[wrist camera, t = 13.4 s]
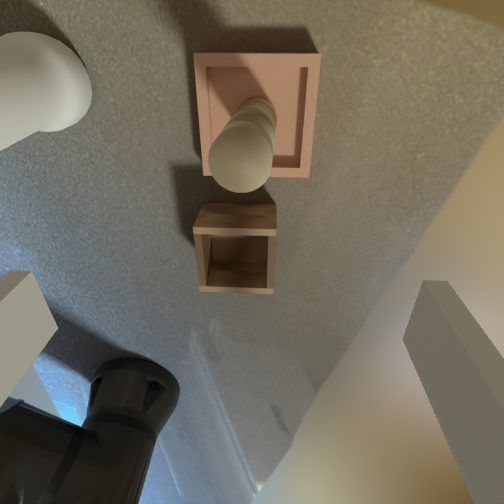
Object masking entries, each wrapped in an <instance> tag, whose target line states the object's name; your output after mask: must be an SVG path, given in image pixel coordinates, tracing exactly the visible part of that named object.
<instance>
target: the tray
mask: <svg viewBox="0 0 504 504" xmlns="http://www.w3.org/2000/svg"><path fill="white" fill-rule="evenodd" d="M193 55H194V67H195V79H196V91H197V103H198V115H199V127H200V140H201V152H202V164H203V176H212V174H211V172H210V169H209V165H208V155H209V150H210V148H211V145H212V144H213V142H214V141H215V139H216V138H217V137H218V135H219V134H220V133H221V131H222V130H223V128H224V127H225V126H226V124H227V123H228V122H229V120H230V119H231V118H232V116H233V115H234V114H235V112H236V111H237V109H238V108H239V107H240V105H241V104H242V103H243V102H244V101H245V100H247V99H249V98H252V97H261V98H264V99H266V100H268V101H269V102H270V103H271V104H272V105H273V106H274V108H275V110H276V113H277V125H276V134H275V142H274V151H273V160H272V168H271V172H270V175H269V177H296V178H309V172H310V162H311V152H312V142H313V132H314V122H315V112H316V102H317V92H318V82H319V72H320V62H321V53H295V52H197V53H193Z"/></svg>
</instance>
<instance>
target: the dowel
mask: <svg viewBox="0 0 504 504" xmlns="http://www.w3.org/2000/svg"><path fill="white" fill-rule="evenodd" d="M276 125H277V113H276V110H275V108H274V106H273V105H272V104H271V103H270V102H269V101H268V100H266V99H264V98H261V97H252V98H249V99H247V100H245V101H244V102H243V103H242V104H241V105H240V107H239V108H238V109H237V111H236V112H235V114H234V115H233V116H232V118H231V119H230V120H229V122H228V123H227V124H226V126H225V127H224V128H223V130H222V131H221V133H220V134H219V135H218V137H217V138H216V139H215V141H214V142H213V144H212V145H211V148H210V150H209V155H208V165H209V169H210V172H211V174H212V176H213V178H214V179H215V180H216V181H217V183H218V184H220V185H221V186H222V187H223V188H225V189H227V190H229V191H232V192H236V193H247V192H251V191H254V190H256V189H257V188H259V187H260V186H262V185H263V184H264V183H265V181H266V180H267V179H268V177H269V175H270V172H271V168H272V160H273V151H274V142H275V134H276Z"/></svg>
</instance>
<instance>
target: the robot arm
mask: <svg viewBox="0 0 504 504" xmlns="http://www.w3.org/2000/svg"><path fill="white" fill-rule="evenodd" d="M57 329H58V327H57V325H56V322H55V320H54V318H53V316H52V314H51V312H50V309H49V307H48V305H47V303H46V301H45V298H44V296H43V294H42V292H41V290H40V288H39V285H38V283H37V281H36V279H35V277H34V274H33V272H32V271H11V270H10V271H9V272H8V273H7V274H6V275H5V276H4V277H2V278H1V279H0V504H138V503H139V500H140V496H141V493H142V489H143V485H144V482H145V478H146V475H147V471H148V468H149V464H150V460H151V457H152V453H153V450H154V446H155V443H156V439H157V437H158V435H159V433H160V431H161V430H162V428H163V427H164V425H165V424H166V422H167V421H168V419H169V417H170V416H171V414H172V413H173V411H174V410H175V408H176V406H177V402H178V398H179V395H180V387H179V384H178V382H177V381H176V379H175V378H174V377H173V376H172V375H171V374H170V373H169V372H168V371H166V370H165V369H163V368H162V367H160V366H158V365H156V364H153V363H151V362H147V361H144V360H139V359H131V358H122V359H115V360H111V361H109V362H106V363H105V364H103V365H102V366H101V367H100V368H99V369H98V371H97V373H96V375H95V376H94V378H93V380H92V383H91V387H90V394H89V401H88V408H87V414H86V418H85V421H84V423H83V425H82V427H80V426H78V425H75V424H73V423H71V422H68V421H66V420H64V419H61V418H59V417H57V416H54V415H52V414H50V413H48V412H45V411H43V410H41V409H39V408H36V407H34V406H32V405H30V404H28V403H25V402H24V400H22V399H18V400H17V399H14V398H11V397H9V394H10V393H11V392H12V390H13V389H14V388H15V386H16V385H17V384H18V382H19V381H20V380H21V378H22V377H23V376H24V374H25V373H26V371H27V370H28V369H29V367H30V366H31V365H32V363H33V362H34V361H35V359H36V358H37V357H38V355H39V354H40V352H41V351H42V350H43V348H44V347H45V346H46V344H47V343H48V342H49V340H50V339H51V337H52V336H53V335H54V333H55V332H56V331H57ZM403 341H404V343H405V346H406V348H407V350H408V352H409V355H410V357H411V360H412V362H413V364H414V366H415V369H416V371H417V373H418V376H419V378H420V380H421V382H422V385H423V387H424V389H425V392H426V394H427V396H428V399H429V401H430V403H431V405H432V408H433V410H434V412H435V414H436V417H437V419H438V421H439V424H440V426H441V428H442V431H443V433H444V435H445V437H446V440H447V442H448V444H449V447H450V449H451V451H452V453H453V456H454V458H455V460H456V462H457V465H458V467H459V470H460V472H461V474H462V476H463V479H464V481H465V483H466V486H467V488H468V490H469V492H470V495H471V497H472V499H473V501H474V504H504V358H503V357H502V356H501V354H500V353H499V351H498V350H497V349H496V347H495V346H494V345H493V343H492V342H491V340H490V339H489V338H488V336H487V335H486V334H485V332H484V331H483V329H482V328H481V327H480V325H479V324H478V323H477V321H476V320H475V318H474V317H473V316H472V314H471V313H470V312H469V310H468V309H467V307H466V306H465V305H464V303H463V302H462V301H461V299H460V298H459V296H458V295H457V294H456V292H455V291H454V290H453V288H452V287H451V285H450V284H449V283H448V281H427V280H424V281H423V282H422V285H421V288H420V291H419V294H418V297H417V300H416V303H415V305H414V308H413V311H412V314H411V317H410V320H409V323H408V325H407V328H406V331H405V334H404V337H403Z"/></svg>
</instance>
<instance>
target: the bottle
mask: <svg viewBox="0 0 504 504" xmlns="http://www.w3.org/2000/svg"><path fill="white" fill-rule="evenodd" d="M91 98H92V89H91V82H90V79H89V76H88V73H87V70H86V69H85V67H84V65H83V64H82V62H81V60H80V59H79V58H78V57H77V55H76V54H75V53H74V52H73V51H72V50H71V49H70V48H69V47H67V46H66V45H65V44H63V43H62V42H61V41H59V40H56V39H54V38H52V37H50V36H47V35H44V34H41V33H35V32H12V33H6V34H4V35H2V36H1V37H0V151H1V150H3V149H5V148H6V147H8V146H10V145H12V144H14V143H16V142H18V141H20V140H21V139H23V138H25V137H27V136H29V135H31V134H33V133H35V132H37V131H43V132H52V131H60V130H62V129H65V128H67V127H69V126H71V125H73V124H75V123H77V122H78V121H79V120H80V119H81V118H82V117H83V116H84V115H85V114H86V113H87V111H88V109H89V107H90V105H91Z"/></svg>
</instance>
